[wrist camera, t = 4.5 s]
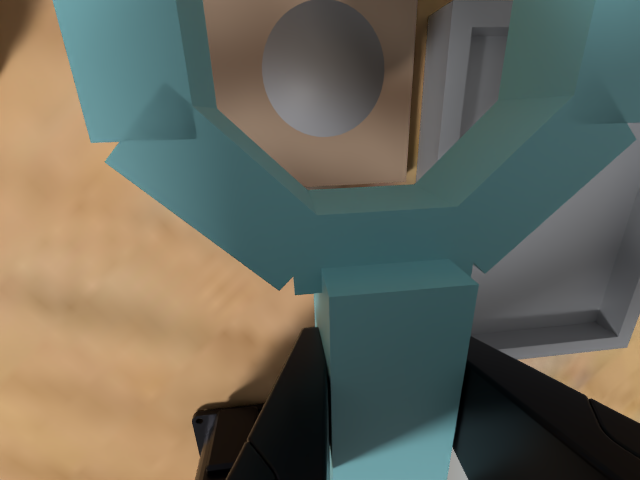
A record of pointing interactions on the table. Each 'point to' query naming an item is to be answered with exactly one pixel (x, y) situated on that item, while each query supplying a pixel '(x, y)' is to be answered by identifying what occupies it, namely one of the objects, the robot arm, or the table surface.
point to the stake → (318, 83)
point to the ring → (367, 200)
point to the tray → (555, 232)
